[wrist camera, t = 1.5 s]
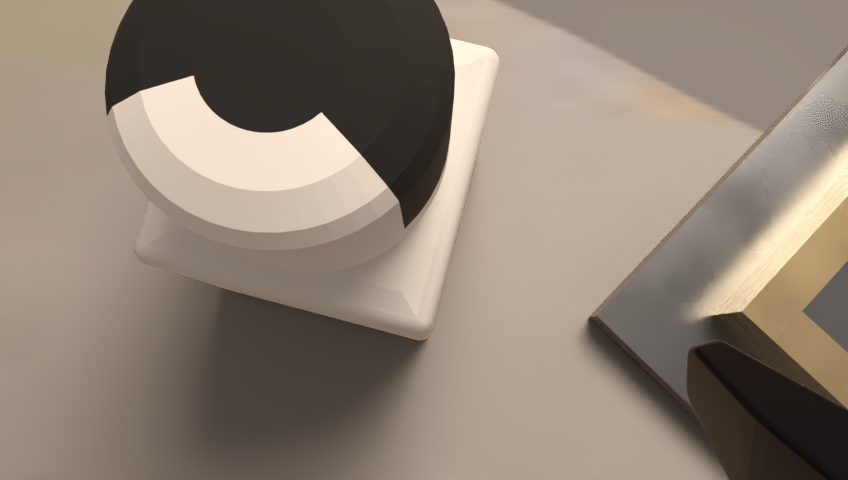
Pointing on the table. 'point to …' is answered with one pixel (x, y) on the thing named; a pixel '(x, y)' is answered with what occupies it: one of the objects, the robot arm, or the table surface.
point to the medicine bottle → (302, 148)
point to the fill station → (755, 259)
